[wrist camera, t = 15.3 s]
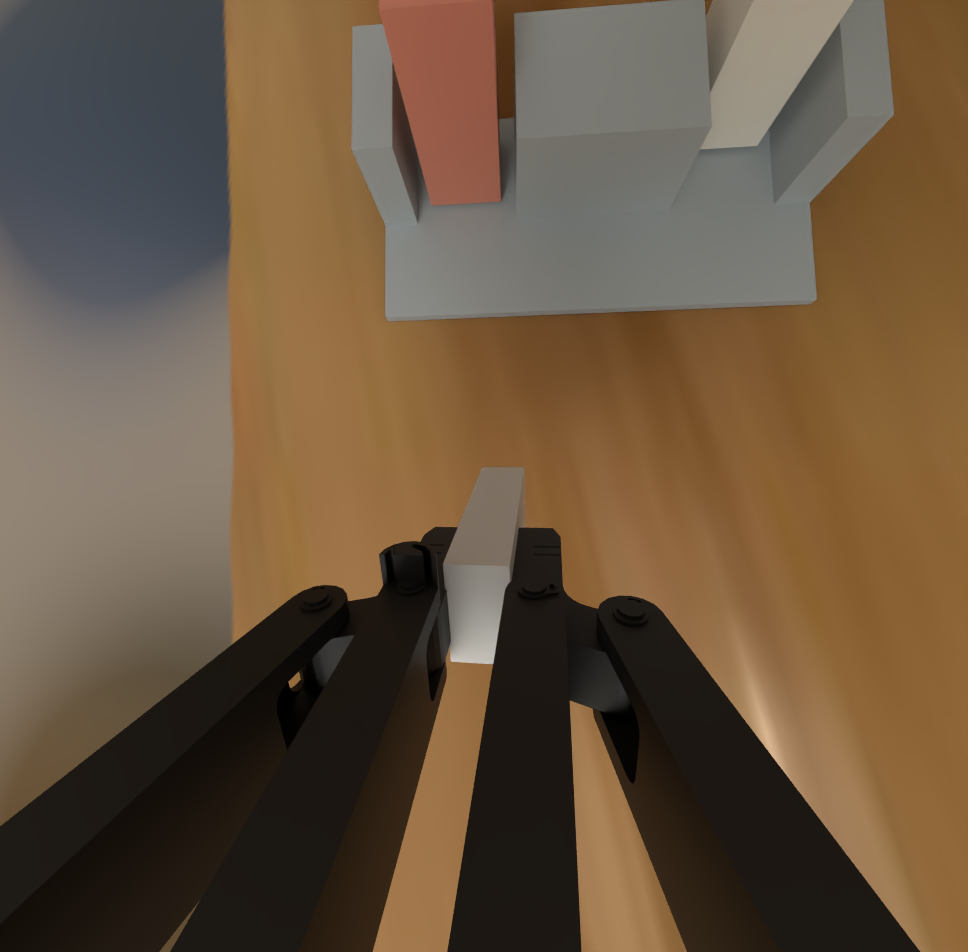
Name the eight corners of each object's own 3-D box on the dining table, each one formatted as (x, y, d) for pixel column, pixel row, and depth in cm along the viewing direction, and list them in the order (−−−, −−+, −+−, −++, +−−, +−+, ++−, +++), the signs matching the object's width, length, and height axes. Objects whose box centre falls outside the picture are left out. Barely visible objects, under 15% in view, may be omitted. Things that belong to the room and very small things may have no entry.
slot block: (795, 107, 28) (882, -17, 21) (810, 304, 27) (905, 237, 20) (388, 134, 30) (352, 26, 23) (388, 321, 29) (350, 264, 22)
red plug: (499, 135, 28) (490, -104, 17) (500, 201, 28) (492, 0, 17) (431, 140, 28) (379, -93, 17) (431, 205, 28) (378, 9, 17)
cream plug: (752, 79, 27) (911, -209, 16) (757, 145, 27) (922, -104, 16) (679, 84, 28) (788, -197, 17) (683, 150, 27) (796, -92, 16)
